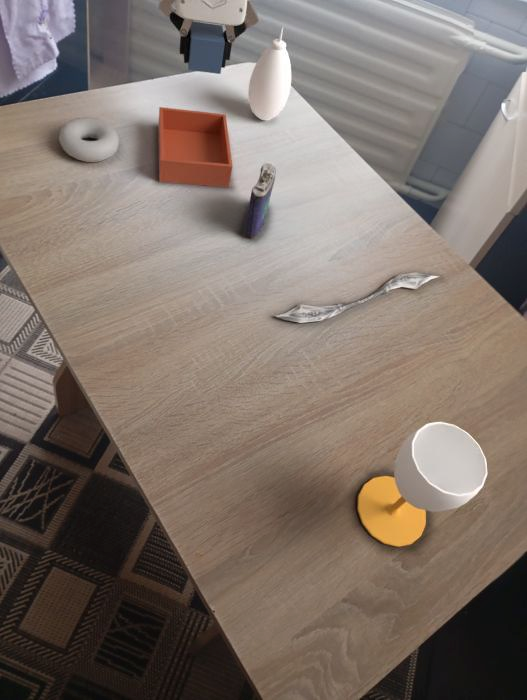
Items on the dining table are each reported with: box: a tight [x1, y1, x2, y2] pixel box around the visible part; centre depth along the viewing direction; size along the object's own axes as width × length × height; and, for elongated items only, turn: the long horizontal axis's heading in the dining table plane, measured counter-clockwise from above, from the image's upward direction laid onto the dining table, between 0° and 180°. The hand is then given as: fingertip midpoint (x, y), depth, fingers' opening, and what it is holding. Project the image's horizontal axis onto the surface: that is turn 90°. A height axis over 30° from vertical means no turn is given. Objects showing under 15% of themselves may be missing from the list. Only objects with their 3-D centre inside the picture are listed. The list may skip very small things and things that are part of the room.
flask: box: [242, 163, 277, 240], centre depth 92 cm, size 9×3×11 cm, turn 166°
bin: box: [157, 106, 233, 188], centre depth 102 cm, size 12×15×4 cm
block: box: [187, 21, 225, 75], centre depth 87 cm, size 5×5×5 cm
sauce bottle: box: [247, 26, 292, 121], centre depth 108 cm, size 8×8×18 cm
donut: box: [58, 117, 120, 163], centre depth 98 cm, size 10×4×10 cm
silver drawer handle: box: [275, 271, 441, 324], centre depth 91 cm, size 32×1×5 cm
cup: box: [356, 421, 488, 548], centre depth 65 cm, size 9×9×16 cm
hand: (204, 59), depth 89 cm, fingers closed on block, 5 cm apart
